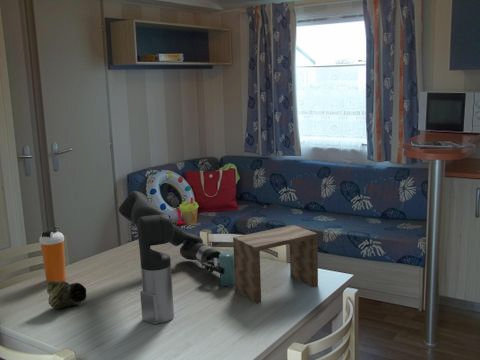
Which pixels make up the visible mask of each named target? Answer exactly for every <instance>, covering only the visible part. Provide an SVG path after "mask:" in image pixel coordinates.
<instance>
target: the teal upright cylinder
mask: <svg viewBox="0 0 480 360" xmlns="http://www.w3.org/2000/svg"><path fill="white" fill-rule="evenodd" d="M220 253H221V254H219V266H220V267H222V268H224V274H220V273H219V284H220V286H222V287H232V286H235V271H234V252H229V251H228V252H220Z"/></svg>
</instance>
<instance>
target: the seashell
mask: <svg viewBox="0 0 480 360" xmlns="http://www.w3.org/2000/svg"><path fill="white" fill-rule="evenodd" d="M45 287H46V292H47V293H46V294H48V299H47V300H48V305H49V306H50V307H52V308H53V309H57V310H59V309H64V308H67V307H71V306H76V305H78V306H79V305H80V304H82V303H83V302H84V301H85V300H86V299H87V288H86V287H85V286H84V285H83V284H81V283H80V282H74V283H69V282H67V281H66V280H64V281H59V282H55V281H46V283H45Z"/></svg>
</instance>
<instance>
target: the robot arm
mask: <svg viewBox="0 0 480 360" xmlns="http://www.w3.org/2000/svg"><path fill="white" fill-rule="evenodd" d="M118 212H119V214H120V215H122V216H123V218H125V219H127V220H128V221H129V222H131V223H133V224H134V225H135V226H136V231H137V241H138V247H139V248H138V249H139V258H140V260H139V261H140V271H141V272H140V273H141V286H142V290H141V291H140V292H139V294H140V303H141V304H140V305H141V307H140V308H141V320H142V321H145V322H147V323H150V324H153V325H158V324H163V323H166V322H169V321H171V320H172V319H174V317H175V313H174V312H175V311H174V310H175V309H174V298H173V297H174V294H173V281H172V280H173V279H172V264H171V263H172V261H171V256H170V255H169V254H167V253H165V252H162V251H157V250H154V249H152V248H151V247H152V246H158V245H165V244H168V243H169V244H170V245H172V246H174V247H179V246H180V245H181V247H180V248H179V254H180V256H181V257H182V258H184V259H185V260H189V261H197V262H198V263H200V264H201V270H203V271H206V272H208V273H211V274H212V273H213V272H215V273H218V274H219V275H220V274H224V268H222V267H220V266H219V254H221V253H222V252H220V251H219V250H217V249H215V248H213V247H211V246H209V245H206V244H204V242H203V239H202V237H201V236H199V235H197V234H193V233H190V232H187V231H184V230H183V229H182V228H180V227H179V226H177V225H175V224H174V222H173V221H172V219H171V217H170V216H169V215H168V214H166V213H164V212H162V211H160V210H159V209H158V208H157V207H156V206H155V204H153V203H152V202H151V200H150V199H149V198H148V197H147V196H146V195H145V194H144V193H142V192H141V191H137V190H134V191H131V192H130V193H129V194H128V195H127V196H126V197H125V199H124V201H123V202H122V203H121V204H120V205H119V207H118Z"/></svg>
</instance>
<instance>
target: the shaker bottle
mask: <svg viewBox="0 0 480 360" xmlns="http://www.w3.org/2000/svg"><path fill="white" fill-rule="evenodd" d="M59 229H60V228H59V227H52V228H49V229H48V230H46V231H41V234H40V237H39V238H38V240H39V245H40V248H41V255H42V262H43V268H44V269H43V270H44V274H45V275H44V276H45V280H46V282H47V281H55V282H59V281H66V278H67V277H66V259H65V256H66V255H65V254H66V253H65V236H64V234H63V233H62V232H60V231H58V230H59Z"/></svg>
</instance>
